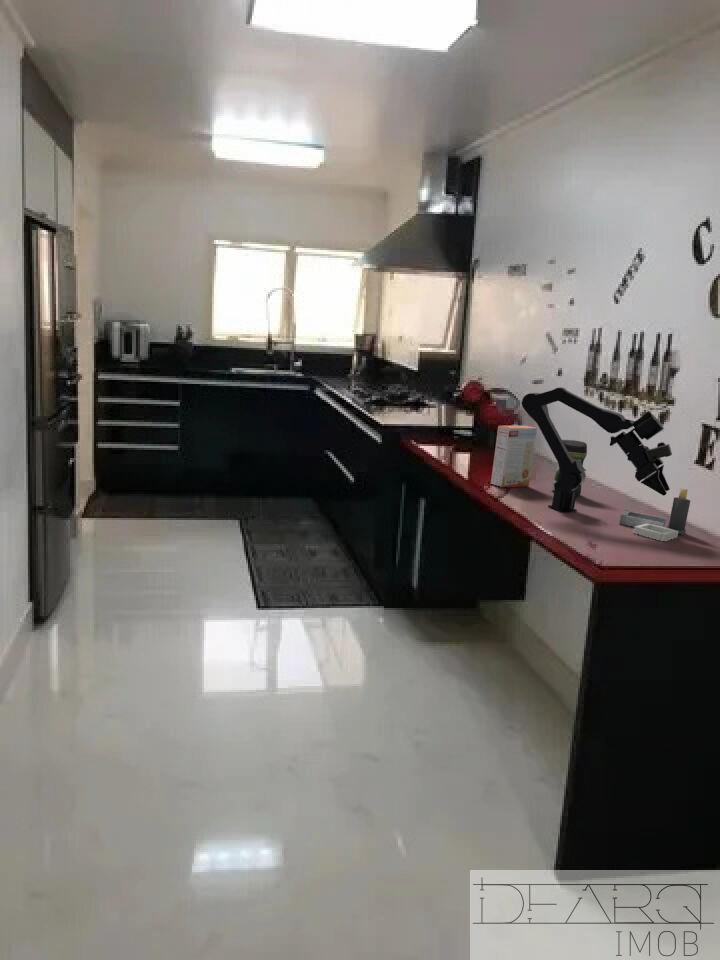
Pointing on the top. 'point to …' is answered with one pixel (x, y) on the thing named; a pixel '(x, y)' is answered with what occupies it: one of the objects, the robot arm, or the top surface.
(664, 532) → the socket
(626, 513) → the grey tray
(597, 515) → the top surface
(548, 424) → the robot arm
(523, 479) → the cracker box
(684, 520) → the plug
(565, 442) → the coffee jar
